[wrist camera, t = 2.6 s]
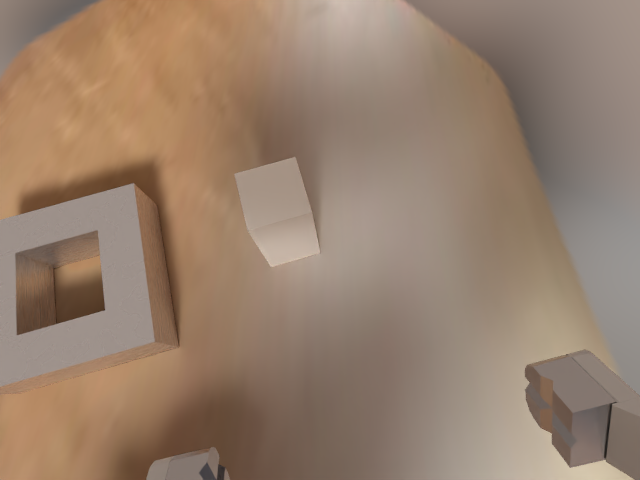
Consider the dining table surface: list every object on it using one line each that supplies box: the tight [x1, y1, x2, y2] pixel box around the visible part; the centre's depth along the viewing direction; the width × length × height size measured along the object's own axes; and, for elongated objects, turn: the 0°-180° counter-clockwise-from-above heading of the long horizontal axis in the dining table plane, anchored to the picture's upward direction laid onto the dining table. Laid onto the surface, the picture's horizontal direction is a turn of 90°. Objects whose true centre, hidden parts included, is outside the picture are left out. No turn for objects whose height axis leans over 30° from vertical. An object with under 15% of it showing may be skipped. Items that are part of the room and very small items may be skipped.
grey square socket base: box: [0, 183, 179, 394], centre depth 30 cm, size 12×12×4 cm
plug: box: [234, 157, 320, 267], centre depth 29 cm, size 4×4×8 cm
